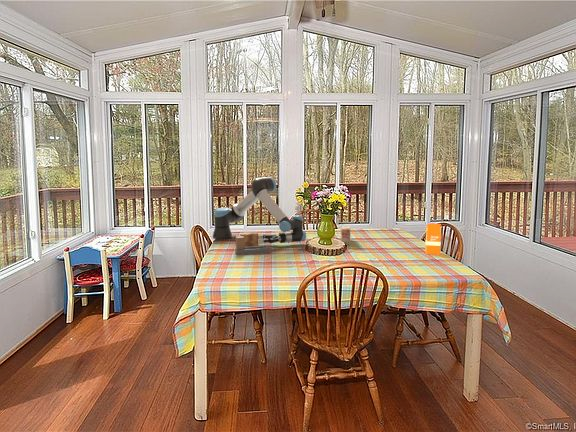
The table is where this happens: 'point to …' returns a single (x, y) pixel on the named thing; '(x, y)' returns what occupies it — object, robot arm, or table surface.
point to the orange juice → (433, 239)
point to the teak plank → (250, 239)
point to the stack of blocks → (345, 235)
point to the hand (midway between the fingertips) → (256, 239)
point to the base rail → (249, 248)
